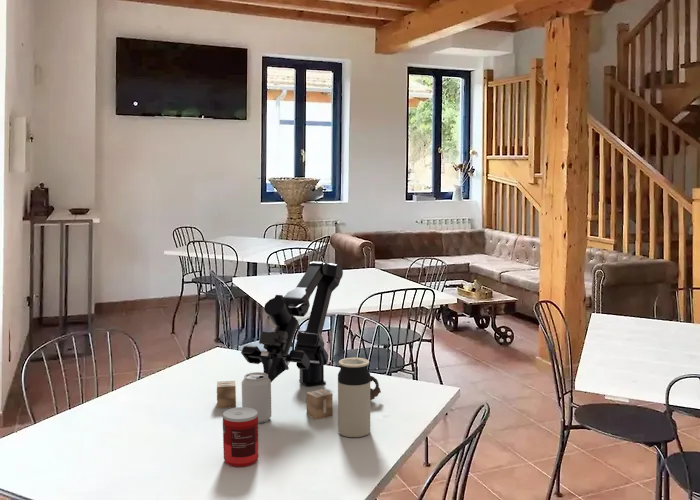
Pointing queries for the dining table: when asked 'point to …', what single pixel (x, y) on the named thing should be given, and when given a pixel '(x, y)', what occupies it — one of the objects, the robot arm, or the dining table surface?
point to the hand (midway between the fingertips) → (265, 384)
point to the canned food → (240, 436)
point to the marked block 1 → (226, 394)
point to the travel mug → (354, 397)
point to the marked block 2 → (319, 404)
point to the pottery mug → (375, 391)
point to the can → (257, 394)
